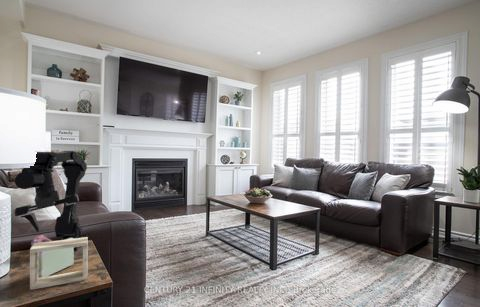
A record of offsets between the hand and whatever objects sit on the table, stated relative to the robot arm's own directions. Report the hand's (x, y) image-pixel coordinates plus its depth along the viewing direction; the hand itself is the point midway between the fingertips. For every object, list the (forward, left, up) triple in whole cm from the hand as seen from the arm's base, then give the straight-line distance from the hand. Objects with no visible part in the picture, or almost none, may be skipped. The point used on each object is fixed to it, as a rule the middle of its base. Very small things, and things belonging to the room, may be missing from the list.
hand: (53, 227), depth 98 cm
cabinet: (+9, +3, -16) cm, 19 cm away
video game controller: (-27, -8, -16) cm, 32 cm away
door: (+1, +1, -15) cm, 15 cm away
